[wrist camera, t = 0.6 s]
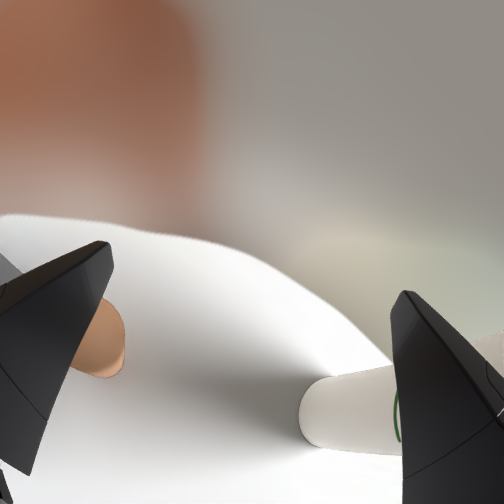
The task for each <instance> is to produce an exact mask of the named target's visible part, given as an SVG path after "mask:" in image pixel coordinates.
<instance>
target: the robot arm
mask: <svg viewBox="0 0 504 504" xmlns="http://www.w3.org/2000/svg"><path fill="white" fill-rule="evenodd" d="M113 269H114V263H113V257H112V250H111V245H110V244H109V243H108V242H104V241H95V242H93V243H90V244H88V245H86V246H83V247H81V248H79V249H76V250H74V251H72V252H70V253H67V254H65V255H63V256H61V257H59V258H56V259H54V260H52V261H50V262H48V263H45V264H43V265H41V266H39V267H37V268H35V269H33V270H31V271H29V272H27V273H24V274H22V275H20V276H18V277H16V278H14V279H12V280H10V281H9V282H8V283H7V282H6V283H4V284H2V285H0V466H1V463H2V461H4V462H6V463H7V464H9V465H11V466H12V467H14V468H16V469H17V470H19V471H21V472H22V473H24V474H26V475H27V476H30V474H31V471H32V467H33V464H34V461H35V457H36V454H37V451H38V448H39V445H40V442H41V439H42V436H43V433H44V430H45V427H46V425H47V421H48V419H49V416H50V413H51V411H52V408H53V406H54V403H55V400H56V398H57V395H58V393H59V391H60V388H61V386H62V383H63V381H64V379H65V376H66V374H67V372H68V369H69V367H70V365H71V363H72V360H73V358H74V356H75V354H76V352H77V350H78V347H79V345H80V343H81V341H82V339H83V337H84V335H85V333H86V331H87V329H88V327H89V325H90V323H91V321H92V319H93V317H94V315H95V313H96V311H97V309H98V306H99V304H100V301H101V299H102V296H103V294H104V291H105V289H106V287H107V284H108V282H109V279H110V277H111V275H112V272H113ZM390 319H391V331H392V351H393V362H394V370H395V377H396V385H397V394H398V403H399V413H400V425H401V441H402V465H403V479H404V480H403V493H402V504H504V378H503V377H502V376H501V375H500V374H499V372H498V371H497V370H496V369H495V368H494V367H493V366H492V365H491V364H490V363H489V362H488V361H487V360H486V361H485V358H484V357H483V356H482V355H481V354H480V353H479V352H478V351H477V350H476V349H475V348H474V347H473V346H472V345H471V344H470V343H469V342H468V341H467V340H466V339H465V338H464V337H463V336H462V335H461V334H460V333H459V332H458V331H457V330H456V329H455V328H453V327H452V326H451V325H450V324H449V323H448V322H447V321H446V320H445V319H444V318H443V317H442V316H441V315H440V314H439V313H438V312H436V311H435V310H434V309H433V308H432V307H431V306H430V305H429V304H428V303H427V302H425V301H424V300H423V299H422V298H421V297H420V296H419V295H418V294H416V293H415V292H413V291H407V290H404V291H402V292H401V293H400V295H399V297H398V298H397V300H396V302H395V304H394V306H393V308H392V310H391V314H390ZM0 504H13V500H12V497H11V495H10V492H9V489H8V486H7V484H6V481H5V478H4V475H3V471H2V470H1V469H0Z"/></svg>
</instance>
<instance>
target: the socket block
mask: <svg viewBox="0 0 504 504" xmlns="http://www.w3.org/2000/svg"><path fill="white" fill-rule="evenodd" d="M22 274H23V273H21V272H20V271H19V270H18V269H17V268H16V267H15V266H14V265H12V264H11V263H10V262H9V261H8V260H7V259H6V258H5V257H4V256H3V255H2V254H1V253H0V285H2V284H4V283H6V282H7V283H8V282H9V281H10V280H12V279H14V278H16V277H18V276H20V275H22Z"/></svg>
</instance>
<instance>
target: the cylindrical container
mask: <svg viewBox="0 0 504 504" xmlns="http://www.w3.org/2000/svg"><path fill="white" fill-rule="evenodd" d="M470 344H471V345H472V346H473V347H474V348H475V349H476V350H477V351H478V352H479V353H480V354H481V355H482V356H483V357H484V358H485V361H486V360H487V361H488V362H489V363H490V364H491V365H492V366H493V367H494V368H495V369H496V370H497V371H498V372H499V374H500V375H501V376H502V377H503V378H504V331H502V332H499V333H496V334H494V335H491V336H489V337H486V338H483V339H480V340H477V341H475V342H472V343H470ZM299 424H300V428H301V431H302V433H303V435H304V436H305V438H306V439H307V440H308V441H309V442H310V443H311V444H313V445H315V446H317V447H321V448H326V449H333V450H340V451H348V452H357V453H368V454H380V455H397V456H402V441H401V425H400V413H399V403H398V394H397V385H396V377H395V370H394V365H390V366H385V367H381V368H376V369H371V370H366V371H361V372H356V373H350V374H344V375H338V376H332V377H326V378H323V379H320V380H318V381H316V382H315V383H314V384H312V385H311V386H310V387H309V388H308V390H307V391H306V392H305V394H304V396H303V398H302V401H301V403H300V408H299Z"/></svg>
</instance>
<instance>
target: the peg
mask: <svg viewBox="0 0 504 504" xmlns="http://www.w3.org/2000/svg"><path fill="white" fill-rule="evenodd" d="M124 343H125V330H124V325H123V322H122V319H121V317H120V315H119V313H118V311H117V310H116V309H115V308H114V306H113V305H112V304H111V303H109V302H108V301H107V300H105V299H103V298H102V299H101V301H100V304H99V306H98V309H97V311H96V313H95V315H94V317H93V319H92V321H91V323H90V325H89V327H88V329H87V331H86V333H85V335H84V337H83V339H82V341H81V343H80V345H79V347H78V350H77V352H76V354H75V356H74V358H73V360H72V363H71V365H70V366H71V367H73V368H75V369H77V370H80V371H82V372H85V373H88V374H91V375H93V376H96V377H100V378H109V377H112V376H114V375H115V374H117V373H118V372H119V371H120V369H121V368H122V366H123V363H124Z"/></svg>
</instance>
